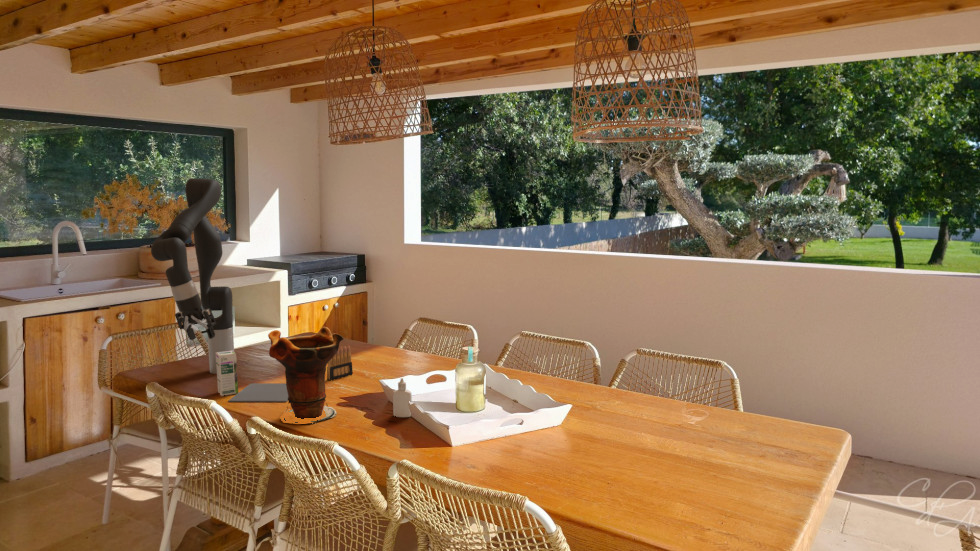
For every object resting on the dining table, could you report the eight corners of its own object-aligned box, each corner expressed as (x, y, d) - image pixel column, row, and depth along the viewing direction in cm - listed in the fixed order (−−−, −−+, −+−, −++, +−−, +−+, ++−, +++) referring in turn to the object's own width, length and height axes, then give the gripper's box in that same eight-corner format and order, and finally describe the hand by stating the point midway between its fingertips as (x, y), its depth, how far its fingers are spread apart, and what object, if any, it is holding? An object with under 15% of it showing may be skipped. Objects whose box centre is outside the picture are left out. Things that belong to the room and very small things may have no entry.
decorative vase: (360, 412, 213) (353, 326, 209) (293, 434, 198) (284, 342, 193) (325, 398, 228) (318, 317, 224) (261, 418, 213) (252, 331, 208)
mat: (250, 384, 246) (250, 383, 246) (303, 384, 245) (303, 383, 245) (228, 402, 226) (228, 400, 226) (286, 402, 225) (286, 400, 225)
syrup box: (221, 396, 232) (218, 355, 230) (217, 392, 237) (215, 351, 235) (238, 393, 235) (236, 352, 233) (234, 389, 240) (232, 349, 238)
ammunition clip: (330, 380, 250) (329, 349, 249) (327, 380, 251) (325, 348, 250) (352, 374, 258) (351, 343, 257) (349, 373, 260) (348, 343, 258)
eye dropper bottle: (400, 412, 215) (399, 375, 213) (414, 415, 212) (413, 378, 210) (391, 416, 211) (390, 378, 210) (404, 419, 208) (403, 381, 207)
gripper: (210, 289, 228) (226, 332, 233) (178, 292, 233) (194, 334, 238) (194, 298, 222) (211, 342, 227) (162, 301, 227) (179, 344, 232)
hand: (202, 338), depth 233 cm, fingers open, 8 cm apart
